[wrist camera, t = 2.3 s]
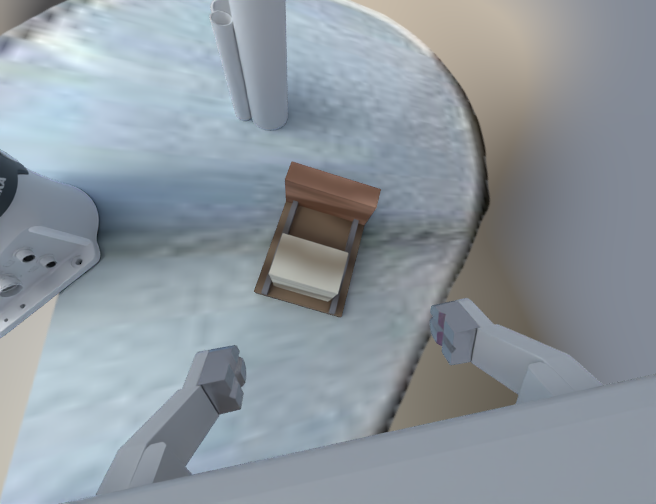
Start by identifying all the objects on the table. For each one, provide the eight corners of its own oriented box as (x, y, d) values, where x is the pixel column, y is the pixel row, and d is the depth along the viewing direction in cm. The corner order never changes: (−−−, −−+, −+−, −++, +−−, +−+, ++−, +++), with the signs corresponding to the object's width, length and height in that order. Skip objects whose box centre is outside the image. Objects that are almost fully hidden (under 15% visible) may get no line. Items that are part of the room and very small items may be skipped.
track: (339, 317, 40) (350, 314, 32) (255, 292, 39) (246, 284, 32) (366, 211, 45) (381, 188, 38) (292, 188, 45) (292, 160, 37)
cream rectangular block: (327, 301, 38) (337, 293, 30) (274, 286, 38) (268, 273, 30) (336, 269, 40) (348, 252, 31) (285, 253, 40) (282, 233, 31)
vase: (295, 111, 49) (296, -28, 30) (273, 138, 47) (260, 8, 28) (242, 81, 49) (209, -74, 30) (218, 107, 47) (168, -43, 28)
